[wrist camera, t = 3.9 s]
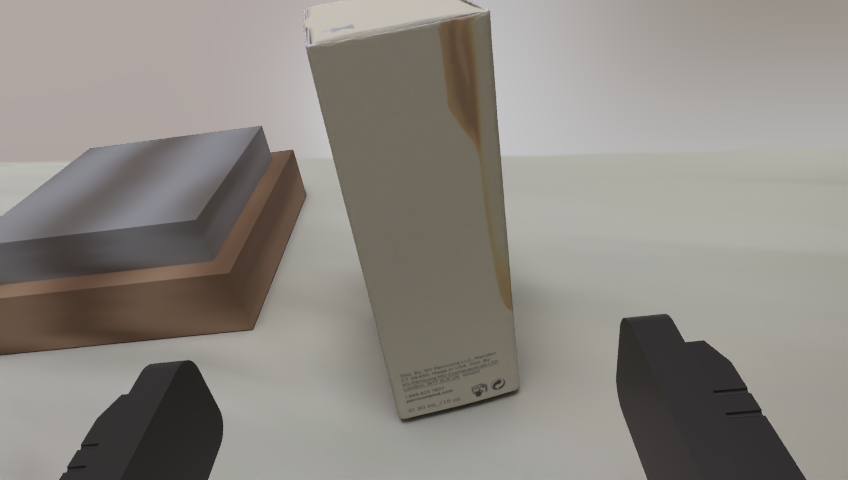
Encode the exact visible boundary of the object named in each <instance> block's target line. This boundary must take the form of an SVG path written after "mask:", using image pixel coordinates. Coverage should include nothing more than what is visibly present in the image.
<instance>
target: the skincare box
mask: <svg viewBox="0 0 848 480" xmlns="http://www.w3.org/2000/svg"><path fill="white" fill-rule="evenodd" d="M490 22H491V21H490V11H489V9H487V8H485V7H483V6H481V5H479V4H477V3H475V2H473V1H471V0H343V1H337V2H332V3H325V4H321V5H316V6H313V7H310V8H309V9H308V10H305V11H304V32H305V43H306V50H307V54H308V59H309V62H310V67H311V71H312V74H313V79H314V83H315V87H316V91H317V95H318V99H319V103H320V107H321V111H322V115H323V119H324V123H325V127H326V131H327V135H328V139H329V143H330V146H331V150H332V155H333V159H334V163H335V167H336V171H337V175H338V179H339V183H340V187H341V191H342V195H343V199H344V203H345V206H346V210H347V214H348V218H349V222H350V225H351V229H352V233H353V237H354V241H355V245H356V249H357V252H358V256H359V260H360V264H361V268H362V272H363V276H364V280H365V284H366V288H367V292H368V295H369V299H370V303H371V307H372V311H373V315H374V319H375V323H376V326H377V330H378V335H379V339H380V343H381V347H382V351H383V355H384V359H385V363H386V367H387V371H388V375H389V379H390V383H391V387H392V391H393V395H394V399H395V403H396V407H397V411H398V414H399V417H400V418H401V419H407V418H411V417H415V416H419V415H423V414H427V413H431V412H436V411H440V410H445V409H449V408H453V407H457V406H461V405H464V404H469V403H472V402H476V401H480V400H483V399H487V398H490V397H494V396H498V395H501V394H504V393H507V392H510V391H514V390H517V389H518V387H519V377H518V364H517V353H516V341H515V329H514V317H513V306H512V295H511V280H510V267H509V253H508V241H507V229H506V218H505V207H504V192H503V180H502V167H501V155H500V144H499V133H498V120H497V106H496V91H495V78H494V66H493V52H492V39H491V23H490Z"/></svg>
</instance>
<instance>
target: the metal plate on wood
mask: <svg viewBox="0 0 848 480" xmlns="http://www.w3.org/2000/svg"><path fill="white" fill-rule="evenodd" d="M305 197H306V192H305V189H304V185H303V182H302V178H301V175H300V172H299V168H298V165H297V161H296V158H295V155H294V151H293V150H287V151H279V152H272V153H270V150H269V147H268V144H267V141H266V138H265V135H264V131H263V128H262V126H257V127H249V128H241V129H234V130H226V131H218V132H211V133H204V134H196V135H188V136H181V137H173V138H166V139H158V140H151V141H143V142H135V143H128V144H120V145H113V146H105V147H98V148H90V149H89V150H87V151H86V152H85V153H83V154H82V155H81V156H80V157H78V158H77V159H76V160H74V161H73V162H72V163H70V164H69V165H68V166H67V167H65V168H64V169H63V170H61V171H60V172H59V173H57V174H56V175H55V176H54V177H52V178H51V179H50V180H48V181H47V182H46V183H44V184H43V185H42V186H40V187H39V188H38V189H37V190H35V191H34V192H33V193H31V194H30V195H29V196H27V197H26V198H25V199H24V200H22V201H21V202H20V203H18V204H17V205H16V206H14V207H13V208H12V209H11V210H9V211H8V212H7V213H5V214H4V215H3V216H1V217H0V355H3V354H13V353H22V352H32V351H42V350H52V349H62V348H72V347H82V346H92V345H102V344H112V343H122V342H132V341H141V340H151V339H161V338H171V337H181V336H191V335H201V334H211V333H221V332H231V331H241V330H250V329H253V327H254V325H255V322H256V320H257V317H258V315H259V312H260V310H261V307H262V305H263V302H264V300H265V297H266V295H267V292H268V290H269V287H270V285H271V282H272V280H273V277H274V275H275V272H276V270H277V267H278V265H279V262H280V260H281V257H282V254H283V252H284V249H285V247H286V244H287V242H288V239H289V237H290V234H291V232H292V229H293V227H294V224H295V222H296V219H297V217H298V214H299V212H300V209H301V207H302V204H303V202H304V199H305Z"/></svg>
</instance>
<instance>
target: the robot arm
mask: <svg viewBox="0 0 848 480" xmlns="http://www.w3.org/2000/svg"><path fill="white" fill-rule="evenodd" d="M616 383H617V392H618V398H619V402H620V406H621V409H622V412H623V415H624V418H625V420H626V423H627V426H628V428H629V431H630V434H631V436H632V439H633V442H634V445H635V447H636V450H637V453H638V455H639V458H640V461H641V463H642V466H643V469H644V471H645V474H646V477H647V479H648V480H806V479H805V477H804V475H803V474H802V472H801V471H800V469H799V468H798V466H797V464H796V463H795V461H794V460H793V458H792V457H791V455H790V454H789V452H788V450H787V449H786V447H785V446H784V444H783V443H782V441H781V439H780V438H779V436H778V435H777V433H776V432H775V430H774V429H773V427H772V425H771V424H770V422H769V421H768V419H767V418H766V416H763V415H762V412H761V408H760V407H759V405H758V404H757V402H756V400H755V399H754V397H753V396H752V394H751V393H748V390H747V386H746V385H745V383H744V382H743V380H742V379H741V377H740V375H739V374H738V372H737V371H736V369H735V368H734V366H733V365H732V363H731V362H730V361H729V360H728V359H727V358H725V357H724V356H723V355H722V354H720V353H719V352H718V351H717V350H715V349H714V348H713V347H711V346H710V345H709V344H708V343H706V342H705V341H694V342H685V341H684V339H683V338H682V336H681V334H680V332H679V331H678V329H677V327H676V325H675V324H674V322H673V320H672V319H671V317H670V316H669V315H667V314H660V315H650V316H640V317H630V318H623V319H622V321H621V324H620V335H619V348H618V360H617V373H616ZM222 436H223V420H222V415H221V412H220V410H219V408H218V406H217V404H216V402H215V400H214V398H213V396H212V394H211V392H210V390H209V388H208V387H207V385H206V383H205V381H204V379H203V377H202V375H201V373H200V371H199V369H198V367H197V366H196V364H195V363H194V362H192V361H190V360H186V361H176V362H167V363H157V364H150V365H148V366H146V367H145V368H144V369H143V371H142V372H141V374H140V375H139V377H138V379H137V380H136V382H135V384H134V385H133V387H132V389H131V391H130V392H129V394H126V395H121V396H120V397H119V398H118V399H117V400H116V401H115V402H114V403H113V404H112V405H111V406H110V407H109V408H108V409H107V410H106V411H104V412H103V413H102V414H101V415H100V416H99V417H98V418H97V420H96V421H95V423H94V424H93V426H92V428H91V429H90V431H89V433H88V434H87V436H86V437H85V439H84V441H83V442H82V444H81V450H77V452H76V454H75V455H74V457H73V458H72V460H71V462H70V463H69V465H68V466H67V468H68V470H67V472H66V473H63V475H62V476H61V478H60V479H59V480H208V478H209V475H210V472H211V470H212V467H213V464H214V462H215V459H216V456H217V453H218V451H219V448H220V445H221V442H222Z"/></svg>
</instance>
